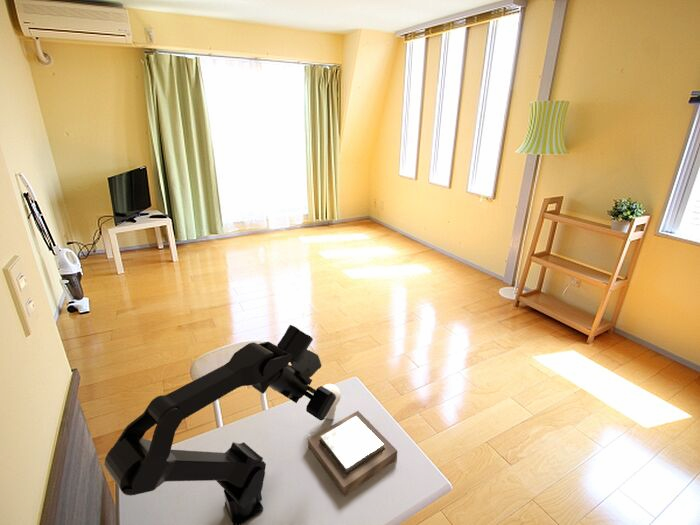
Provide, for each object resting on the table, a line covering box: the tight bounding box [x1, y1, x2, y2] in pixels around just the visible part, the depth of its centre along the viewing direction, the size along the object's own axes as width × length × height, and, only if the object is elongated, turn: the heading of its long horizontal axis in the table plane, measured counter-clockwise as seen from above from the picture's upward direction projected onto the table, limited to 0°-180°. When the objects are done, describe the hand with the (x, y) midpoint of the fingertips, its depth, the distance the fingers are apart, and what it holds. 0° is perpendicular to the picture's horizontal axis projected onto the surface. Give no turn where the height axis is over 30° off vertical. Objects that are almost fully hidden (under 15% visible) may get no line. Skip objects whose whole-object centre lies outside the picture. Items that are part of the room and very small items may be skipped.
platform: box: [321, 416, 384, 475], centre depth 91 cm, size 11×11×2 cm
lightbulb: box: [322, 383, 342, 420], centre depth 101 cm, size 6×6×11 cm
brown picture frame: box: [307, 410, 398, 497], centre depth 91 cm, size 16×16×3 cm
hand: (314, 399), depth 91 cm, fingers open, 9 cm apart
